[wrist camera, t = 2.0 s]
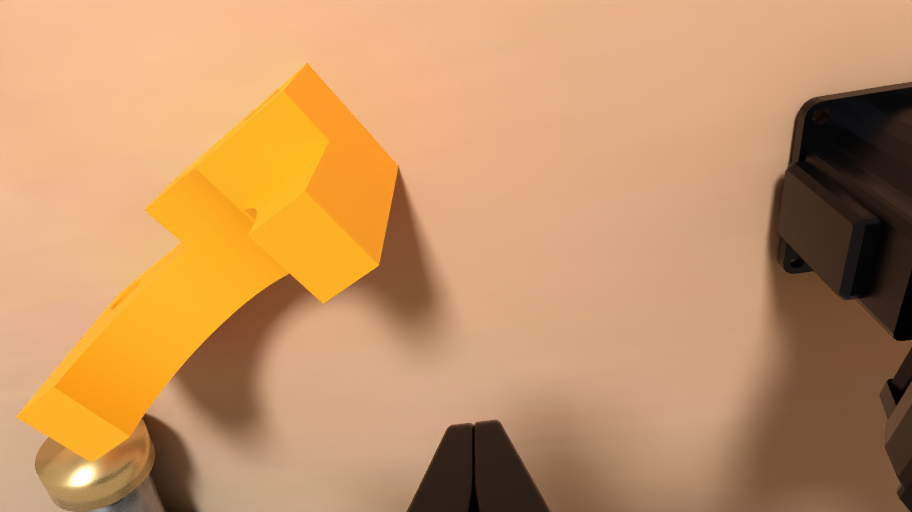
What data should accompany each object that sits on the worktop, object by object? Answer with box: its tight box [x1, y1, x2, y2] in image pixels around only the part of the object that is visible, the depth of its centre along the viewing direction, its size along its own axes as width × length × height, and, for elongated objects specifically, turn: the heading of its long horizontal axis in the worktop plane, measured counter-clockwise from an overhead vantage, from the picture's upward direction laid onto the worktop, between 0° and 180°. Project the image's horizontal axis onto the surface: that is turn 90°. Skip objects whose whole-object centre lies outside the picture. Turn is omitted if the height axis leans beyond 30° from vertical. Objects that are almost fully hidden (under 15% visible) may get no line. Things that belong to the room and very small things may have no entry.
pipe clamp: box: [16, 63, 399, 463], centre depth 18 cm, size 12×4×6 cm, turn 128°
